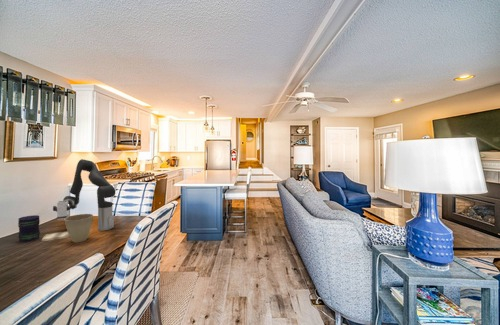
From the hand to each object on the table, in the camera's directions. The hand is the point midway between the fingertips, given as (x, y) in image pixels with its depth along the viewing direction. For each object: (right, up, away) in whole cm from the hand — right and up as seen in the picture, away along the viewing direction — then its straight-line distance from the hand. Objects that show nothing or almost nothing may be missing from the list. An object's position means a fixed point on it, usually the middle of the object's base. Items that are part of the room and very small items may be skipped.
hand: (62, 209), depth 149 cm
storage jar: (-14, -18, -9) cm, 24 cm away
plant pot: (+20, -19, -9) cm, 29 cm away
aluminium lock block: (-2, -6, +3) cm, 7 cm away
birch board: (+1, -18, -3) cm, 18 cm away
